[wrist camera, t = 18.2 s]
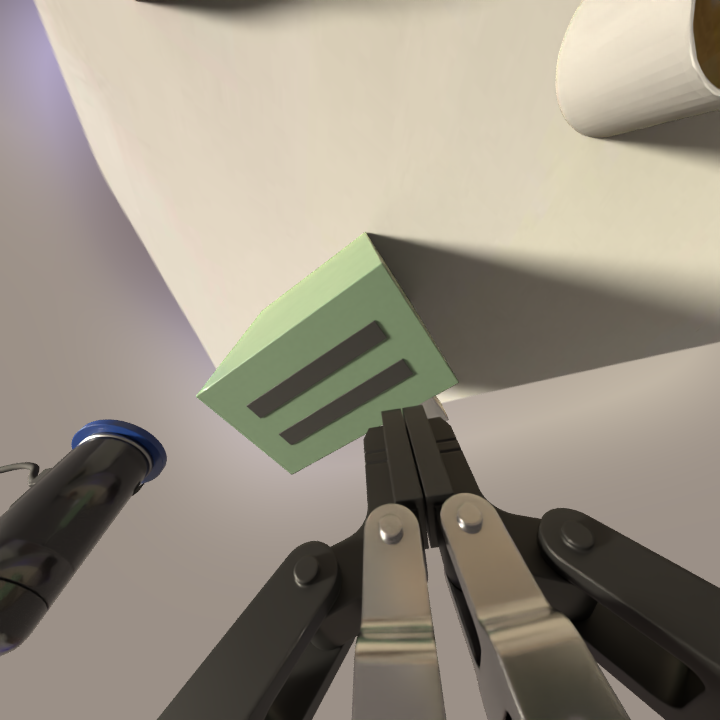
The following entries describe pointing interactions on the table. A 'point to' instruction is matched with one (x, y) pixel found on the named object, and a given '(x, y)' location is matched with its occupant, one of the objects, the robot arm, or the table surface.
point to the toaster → (328, 361)
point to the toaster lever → (434, 408)
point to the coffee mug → (638, 64)
